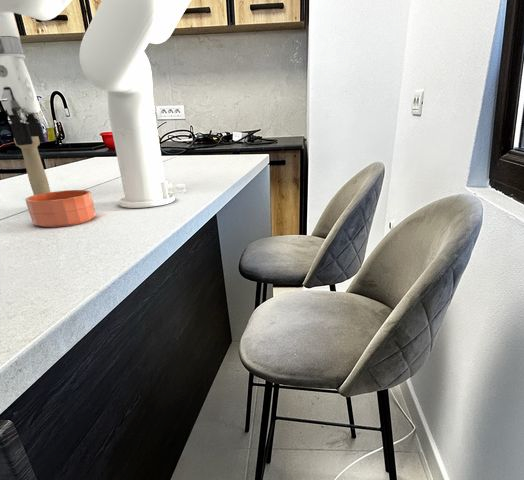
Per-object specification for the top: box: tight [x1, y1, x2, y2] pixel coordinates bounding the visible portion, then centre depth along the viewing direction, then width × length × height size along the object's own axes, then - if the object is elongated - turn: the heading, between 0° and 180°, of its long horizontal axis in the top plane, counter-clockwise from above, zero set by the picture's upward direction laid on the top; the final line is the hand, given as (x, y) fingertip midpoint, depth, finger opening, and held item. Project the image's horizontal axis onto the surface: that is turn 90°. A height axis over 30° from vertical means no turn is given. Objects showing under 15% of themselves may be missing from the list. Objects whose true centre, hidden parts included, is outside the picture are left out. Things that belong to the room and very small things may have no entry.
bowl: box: [24, 189, 97, 228], centre depth 86 cm, size 12×12×5 cm
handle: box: [13, 136, 51, 196], centre depth 99 cm, size 5×6×15 cm
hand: (32, 143), depth 96 cm, fingers open, 9 cm apart
